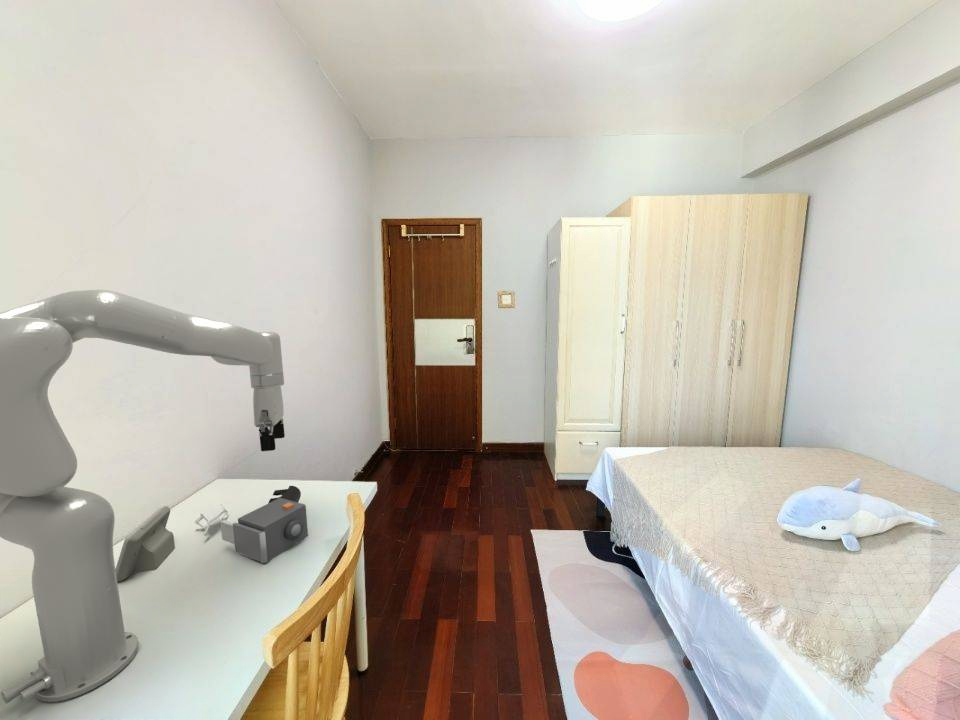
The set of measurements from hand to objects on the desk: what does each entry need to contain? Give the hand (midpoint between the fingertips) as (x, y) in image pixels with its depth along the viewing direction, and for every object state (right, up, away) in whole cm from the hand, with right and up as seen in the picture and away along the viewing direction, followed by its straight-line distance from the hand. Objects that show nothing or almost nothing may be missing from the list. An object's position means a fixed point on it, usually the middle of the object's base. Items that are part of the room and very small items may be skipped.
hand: (273, 444), depth 103 cm
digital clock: (-28, -28, -7) cm, 40 cm away
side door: (-4, -26, -5) cm, 27 cm away
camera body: (+1, -26, 0) cm, 26 cm away
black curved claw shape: (-4, -25, +15) cm, 29 cm away
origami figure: (-21, -26, +7) cm, 34 cm away
